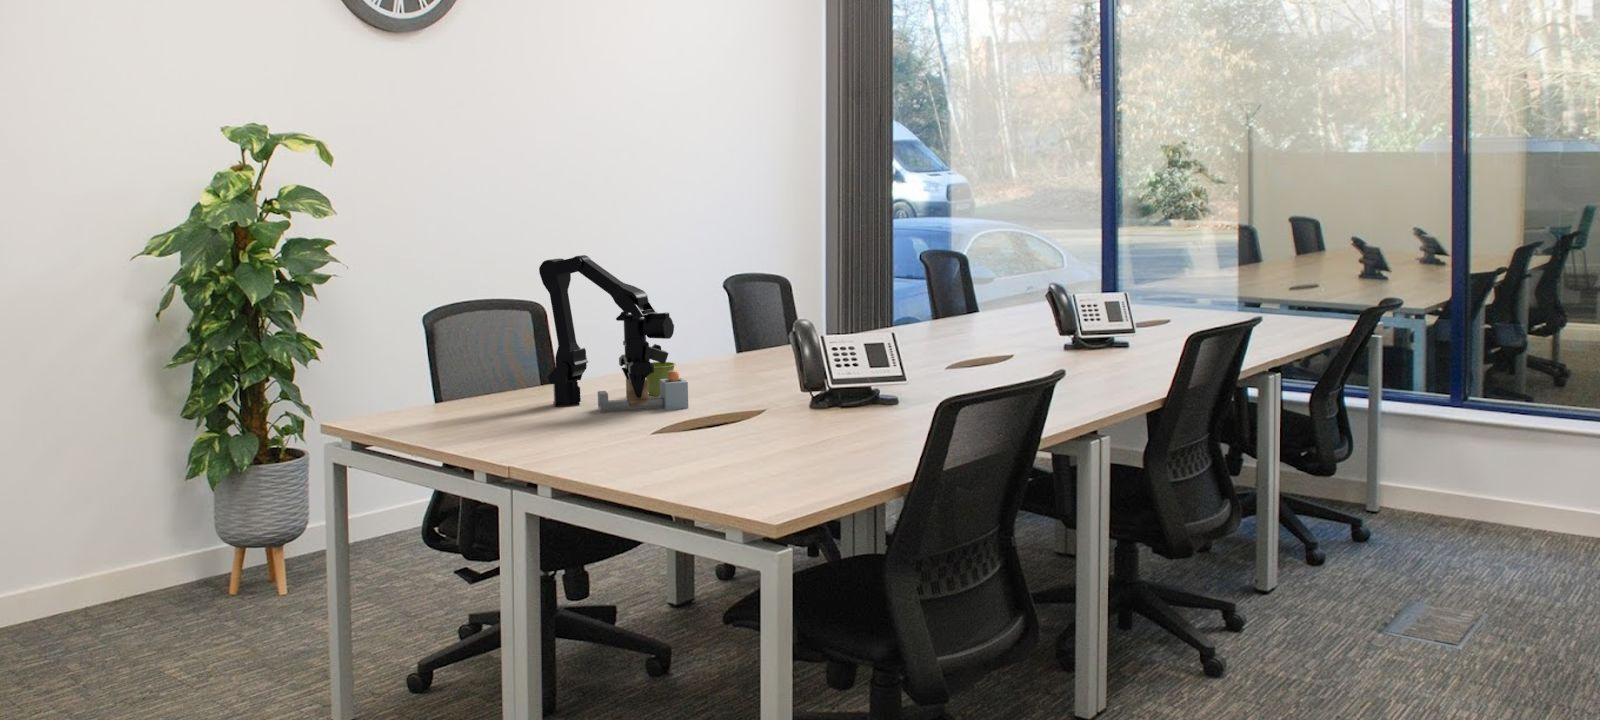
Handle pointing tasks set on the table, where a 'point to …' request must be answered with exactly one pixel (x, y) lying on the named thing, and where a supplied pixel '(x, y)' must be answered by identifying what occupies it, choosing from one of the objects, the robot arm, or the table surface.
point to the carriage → (632, 396)
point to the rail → (625, 404)
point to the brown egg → (673, 376)
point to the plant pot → (658, 376)
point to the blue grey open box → (674, 394)
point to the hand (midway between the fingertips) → (637, 396)
